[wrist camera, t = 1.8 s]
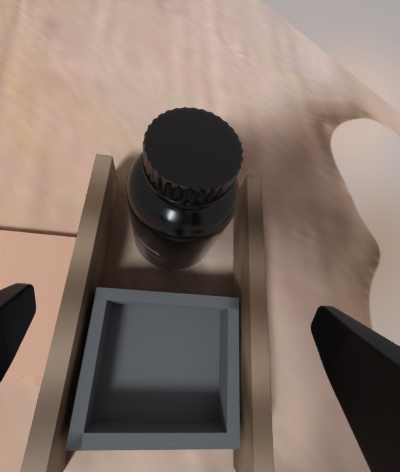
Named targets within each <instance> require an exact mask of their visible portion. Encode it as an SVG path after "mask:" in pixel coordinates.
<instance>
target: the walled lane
mask: <svg viewBox="0 0 400 472" xmlns="http://www.w3.org/2000/svg"><path fill="white" fill-rule="evenodd" d="M118 184H119V183H118V179H117V175H116V170H115V166H114V161H113V157H112V156H107V155H101V154H96V157H95V162H94V166H93V170H92V174H91V178H90V183H89V187H88V191H87V195H86V199H85V204H84V208H83V212H82V216H81V220H80V224H79V229H78V233H77V237H76V241H75V245H74V250H73V254H72V258H71V262H70V266H69V271H68V275H67V279H66V283H65V287H64V292H63V296H62V300H61V304H60V308H59V312H58V317H57V321H56V325H55V329H54V333H53V338H52V342H51V346H50V350H49V354H48V359H47V363H46V367H45V371H44V375H43V379H42V384H41V388H40V392H39V396H38V400H37V405H36V409H35V413H34V417H33V421H32V426H31V430H30V434H29V438H28V442H27V447H26V451H25V455H24V459H23V463H22V467H21V472H63V471H64V468H65V463H66V458H67V452H68V451H65V449H66V444H67V438H68V433H69V428H70V423H71V418H72V413H73V407H74V402H75V397H76V392H77V387H78V382H79V376H80V371H81V366H82V361H83V356H84V350H85V345H86V340H87V335H88V330H89V325H90V319H91V314H92V309H93V304H94V299H95V294H96V288H97V287H99V284H100V279H101V273H102V268H103V263H104V258H105V252H106V247H107V242H108V237H109V231H110V226H111V221H112V216H113V210H114V205H115V200H116V195H117V189H118ZM234 297H236V298H239V405H240V449H234V468H235V470H236V472H274V457H273V435H272V413H271V391H270V368H269V346H268V324H267V302H266V280H265V258H264V236H263V214H262V192H261V177H254V176H247V177H246V179H245V180H244V182H243V184H242V185H241V187H240V189H239V202H238V206H237V209H236V212H235V214H234Z"/></svg>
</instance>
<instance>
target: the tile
mask: <svg viewBox="0 0 400 472" xmlns="http://www.w3.org/2000/svg"><path fill="white" fill-rule="evenodd" d="M75 241H76V237H66V236H56V235H45V234H35V233H25V232H15V231H5V230H0V290H1V289H4V288H6V287H8V286H10V285H13V284H15V283H25V284H31V285H33V287H34V292H35V300H36V313H35V315H34V318H33V320H32V322H31V324H30V326H29V328H28V330H27V332H26V334H25V337H24V339H23V341H22V343H21V345H20V347H19V349H18V351H17V353H16V356H15V358H14V360H13V362H12V364H11V365H10V367H9V369H8V371H7V372H6V374H5V376H12V377H43V375H44V371H45V367H46V363H47V359H48V354H49V350H50V346H51V342H52V338H53V333H54V329H55V325H56V321H57V317H58V312H59V308H60V304H61V300H62V296H63V292H64V287H65V283H66V279H67V275H68V271H69V266H70V262H71V258H72V254H73V250H74V245H75Z"/></svg>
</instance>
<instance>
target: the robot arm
mask: <svg viewBox="0 0 400 472" xmlns="http://www.w3.org/2000/svg"><path fill="white" fill-rule="evenodd" d="M35 313H36V300H35V292H34V287H33V285H31V284H25V283H15V284H13V285H10V286H8V287H6V288H4V289H1V290H0V382H1V381H2V379H3V377H4V376H5V374H6V372H7V371H8V369H9V367H10V365H11V364H12V362H13V360H14V358H15V356H16V353H17V351H18V349H19V347H20V345H21V343H22V341H23V339H24V337H25V334H26V332H27V330H28V328H29V326H30V324H31V322H32V320H33V318H34V315H35ZM311 332H312V335H313V338H314V340H315V343H316V346H317V349H318V352H319V355H320V357H321V360H322V363H323V366H324V369H325V371H326V374H327V377H328V379H329V381H330V383H331V386H332V388H333V390H334V392H335V394H336V397H337V399H338V401H339V403H340V405H341V407H342V410H343V412H344V414H345V416H346V418H347V421H348V423H349V425H350V427H351V429H352V431H353V434H354V436H355V438H356V440H357V442H358V444H359V447H360V449H361V451H362V453H363V455H364V458H365V460H366V462H367V464H368V466H369V468H370V471H371V472H400V346H398V345H396V344H395V343H393V342H391V341H390V340H388V339H386V338H385V337H383V336H381V335H380V334H378V333H376V332H375V331H373V330H371V329H370V328H368V327H366V326H365V325H363V324H361V323H360V322H358V321H356V320H355V319H353V318H351V317H350V316H348V315H346V314H344V313H343V312H341V311H339V310H338V309H336V308H334V307H332V306H320V307H319V308H318V309H317V311H316V314H315V316H314V319H313V321H312V324H311Z"/></svg>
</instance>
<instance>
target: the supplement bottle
mask: <svg viewBox="0 0 400 472" xmlns="http://www.w3.org/2000/svg"><path fill="white" fill-rule="evenodd" d="M242 153H243V150H242V148H241V142H240V141H239V139H238V135H237V134H236V133H235V132H234V130H233V128H232V127H230V126H229V125H228V123H227V122H226V121H223V120H222V119H221V118H220V117H219V116H216V115H214V114H213V113H212V112H207V111H205V110H203V109H196V108H186V107H184V108H175V109H173V110H167V111H166V112H165V113H163V114H160V115H159V116H158V118H155V119H153V121H152V124H150V125H149V126H148V130H147V131H146V132H145V135H144V141H143V152H142V153H140V154H139V156H138V157H137V158H136V159H135V161H134V162H133V164H132V166H131V168H130V171H129V173H128V177H127V199H128V205H129V211H130V217H131V223H132V229H133V235H134V239H135V243H136V246H137V248H138V250H139V252H140V253H141V255H142V256H143V257H144V258H145V259H146V260H147V261H148V262H150V263H151V264H153V265H154V266H156V267H159V268H161V269H165V270H182V269H186V268H189V267H191V266H193V265H195V264H196V263H198V262H199V261H200V260H201V259H202V258H203V257H204V256H205V255H206V254H207V252H208V251H209V250H210V248H211V247H212V246H213V244H214V243H215V241H216V240H217V239H218V237H219V236H220V235H221V233H222V232H223V231H224V229H225V228H226V226H227V225H228V224H229V222H230V221H231V219H232V217H233V216H234V214H235V212H236V209H237V206H238V202H239V185H238V180H237V175H238V173H239V171H240V169H241V163H242V161H243V157H242Z"/></svg>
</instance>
